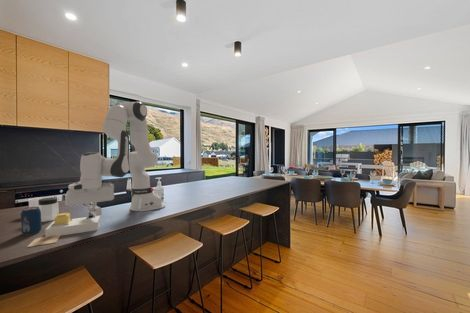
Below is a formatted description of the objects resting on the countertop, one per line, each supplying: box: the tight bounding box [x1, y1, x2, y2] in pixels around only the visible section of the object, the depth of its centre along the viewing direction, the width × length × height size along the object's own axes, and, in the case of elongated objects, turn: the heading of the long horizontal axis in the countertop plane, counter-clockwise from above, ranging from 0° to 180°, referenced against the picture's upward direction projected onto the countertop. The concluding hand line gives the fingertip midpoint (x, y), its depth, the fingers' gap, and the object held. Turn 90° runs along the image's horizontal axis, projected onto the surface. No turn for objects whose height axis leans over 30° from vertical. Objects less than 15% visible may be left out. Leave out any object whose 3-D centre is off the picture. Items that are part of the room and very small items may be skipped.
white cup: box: [28, 196, 47, 208], centre depth 128 cm, size 8×8×10 cm
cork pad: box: [27, 235, 61, 248], centre depth 91 cm, size 9×9×1 cm
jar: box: [38, 196, 60, 223], centre depth 119 cm, size 9×8×12 cm
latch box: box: [44, 215, 101, 237], centre depth 104 cm, size 20×12×5 cm, turn 118°
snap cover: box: [54, 212, 71, 225], centre depth 101 cm, size 5×5×5 cm
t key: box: [86, 203, 103, 217], centre depth 107 cm, size 3×15×7 cm, turn 50°
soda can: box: [20, 206, 42, 236], centre depth 100 cm, size 7×7×12 cm
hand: (91, 211), depth 103 cm, fingers closed
